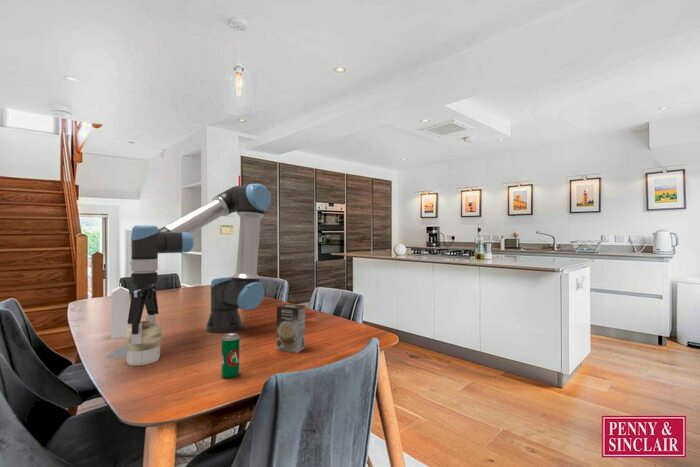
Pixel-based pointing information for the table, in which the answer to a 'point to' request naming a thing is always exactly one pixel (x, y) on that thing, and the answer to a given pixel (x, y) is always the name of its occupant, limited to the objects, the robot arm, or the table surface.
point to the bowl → (143, 356)
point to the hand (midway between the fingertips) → (143, 338)
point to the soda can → (230, 355)
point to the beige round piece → (145, 337)
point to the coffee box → (290, 327)
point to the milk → (119, 312)
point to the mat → (118, 352)
